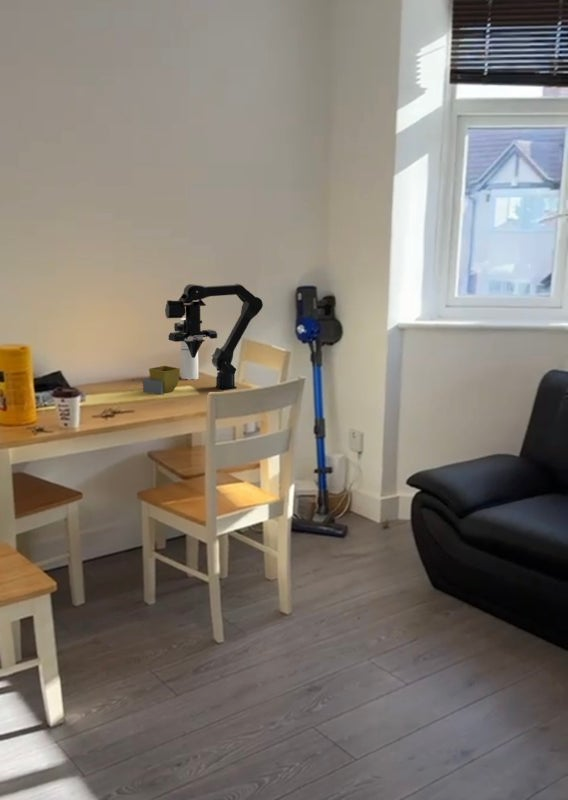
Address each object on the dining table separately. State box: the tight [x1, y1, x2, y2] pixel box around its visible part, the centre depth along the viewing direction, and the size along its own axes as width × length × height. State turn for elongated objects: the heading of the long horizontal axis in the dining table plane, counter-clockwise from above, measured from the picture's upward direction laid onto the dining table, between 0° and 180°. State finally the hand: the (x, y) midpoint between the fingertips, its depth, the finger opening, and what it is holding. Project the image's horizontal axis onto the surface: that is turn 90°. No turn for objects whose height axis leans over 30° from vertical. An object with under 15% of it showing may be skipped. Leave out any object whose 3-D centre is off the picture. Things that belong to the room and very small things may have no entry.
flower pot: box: [148, 365, 181, 393], centre depth 300 cm, size 9×9×9 cm
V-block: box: [142, 376, 164, 395], centre depth 299 cm, size 7×12×5 cm, turn 18°
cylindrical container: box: [180, 317, 199, 381], centre depth 323 cm, size 7×7×25 cm
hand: (193, 357), depth 301 cm, fingers closed
